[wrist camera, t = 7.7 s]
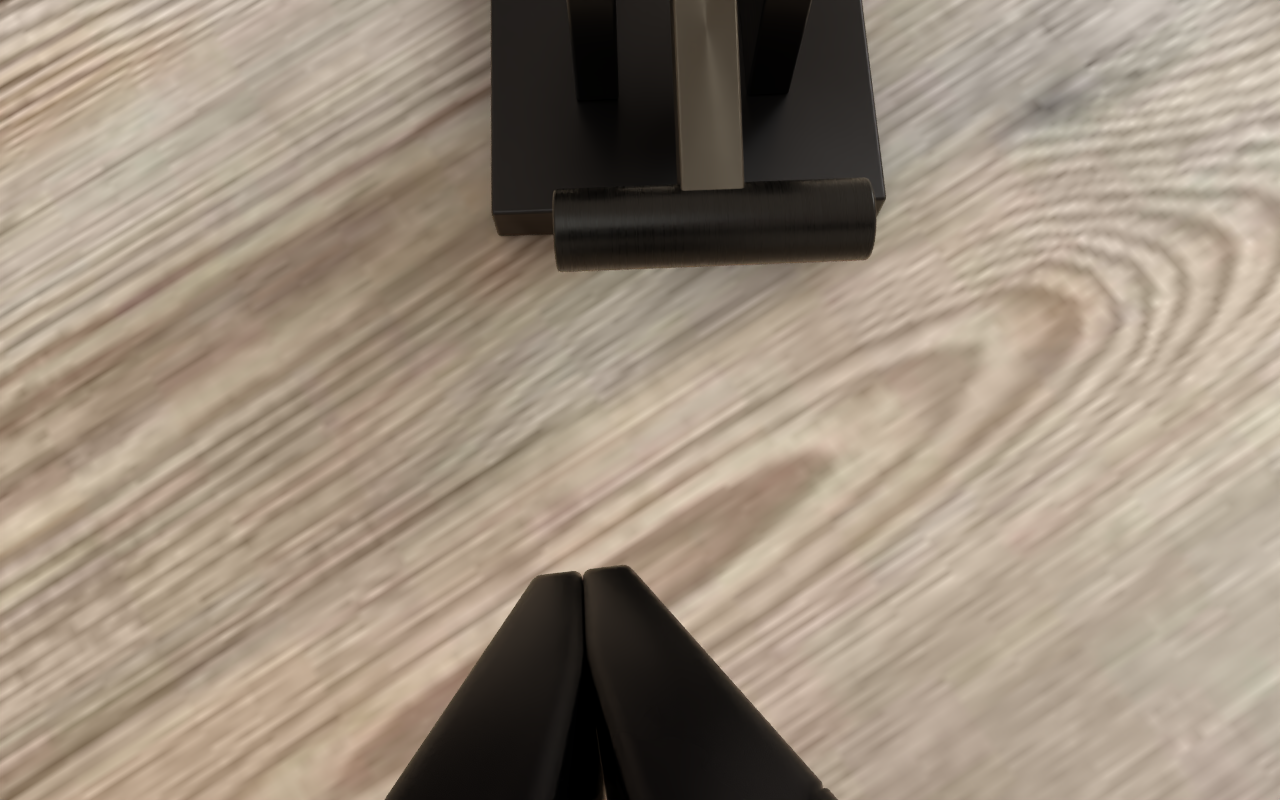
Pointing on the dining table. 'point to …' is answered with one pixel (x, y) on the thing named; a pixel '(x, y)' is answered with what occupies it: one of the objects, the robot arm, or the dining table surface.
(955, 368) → the dining table surface
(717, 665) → the robot arm
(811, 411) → the dining table surface
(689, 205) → the lever
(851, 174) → the bracket
